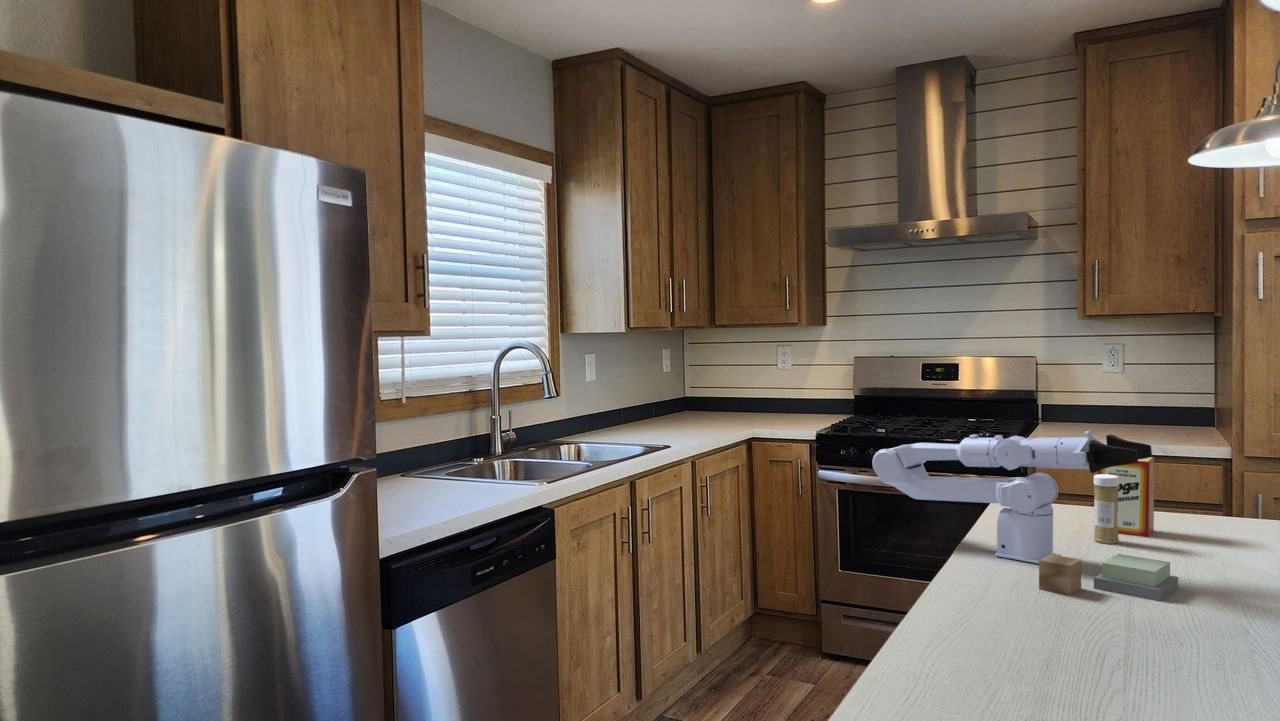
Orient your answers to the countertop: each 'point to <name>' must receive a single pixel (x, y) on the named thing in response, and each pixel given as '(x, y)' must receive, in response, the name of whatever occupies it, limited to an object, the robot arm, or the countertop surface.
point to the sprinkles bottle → (1106, 508)
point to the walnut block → (1060, 574)
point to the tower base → (1137, 587)
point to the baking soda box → (1135, 496)
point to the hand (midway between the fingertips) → (1144, 453)
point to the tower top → (1136, 570)
